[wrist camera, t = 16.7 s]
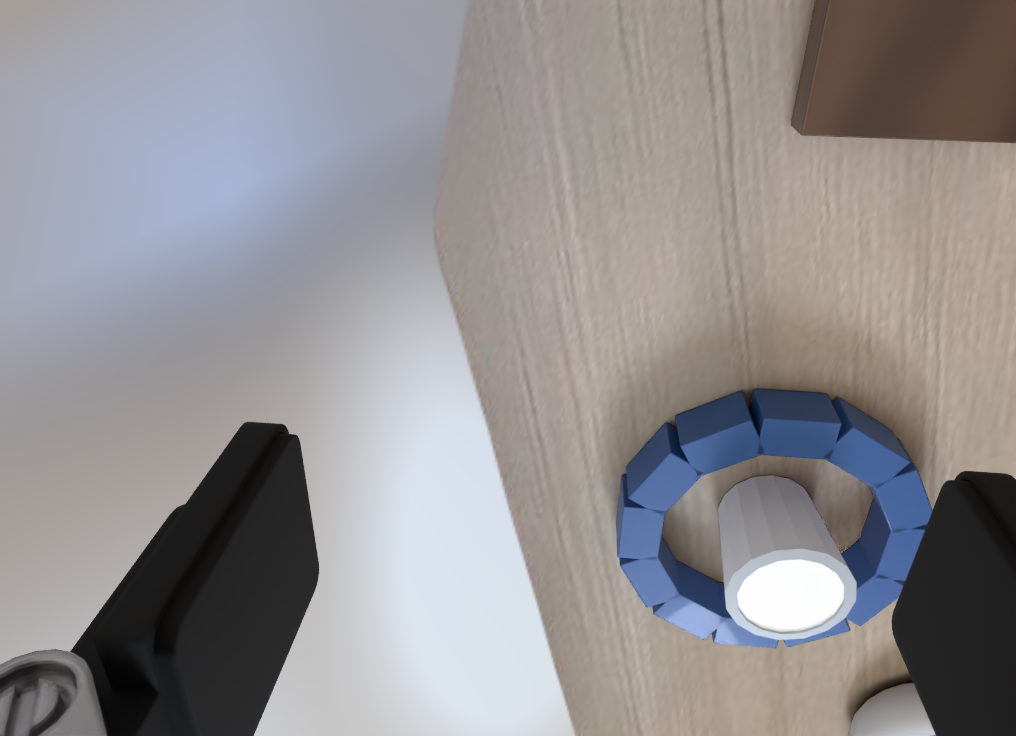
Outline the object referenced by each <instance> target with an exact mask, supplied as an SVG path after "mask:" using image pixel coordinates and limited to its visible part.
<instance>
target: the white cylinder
mask: <svg viewBox="0 0 1016 736" xmlns="http://www.w3.org/2000/svg"><path fill="white" fill-rule="evenodd" d="M718 515H719V527H720V539H721V552H722V564H723V576H724V589H725V601H726V610H727V611H728V612H729V614H730V615H731V617H732V618H733V619H734V621H735V622H736V624H737V625H739V626H741V627H743V628H744V629H746V630H748V631H749V632H751V633H753V634H755V635H758V636H762V637H767V638H772V639H776V640H787V639H804V638H807V637H810V636H813V635H816V634H819V633H822V632H825V631H828V630H829V629H830V628H832V627H833V626H835V625H836V624H837V623H839V622H840V621H842V620H843V619H844V618H846V616H847V615H848V613H849V611H850V610H851V608H852V607H853V605H854V603H855V602H856V588H857V582H856V581H855V579H854V577H853V575H852V573H851V571H850V570H849V568H848V566H847V564H846V562H845V561H844V559H843V557H842V555H841V553H840V551H839V550H838V548H837V546H836V544H835V542H834V540H833V539H832V537H831V535H830V533H829V531H828V530H827V528H826V526H825V524H824V522H823V520H822V519H821V517H820V515H819V513H818V511H817V509H816V508H815V506H814V504H813V502H812V500H811V499H810V497H809V495H808V494H807V492H806V490H805V489H804V488H803V487H802V486H800V485H799V484H797V483H796V482H794V481H793V480H791V479H788V478H783V477H779V476H774V475H769V476H758V477H752V478H750V479H747V480H745V481H743V482H740V483H738V484H736V485H735V486H734V487H733V488H731V489H730V490H729V491H728V492H727V493H726V494H725V495H724V496H723V499H722V501H721V503H720V505H719V507H718Z"/></svg>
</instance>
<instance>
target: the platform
mask: <svg viewBox="0 0 1016 736" xmlns="http://www.w3.org/2000/svg"><path fill="white" fill-rule="evenodd" d="M791 126H792V127H793V128H794V129H795V130H796V131H797V132H798V133H799V134H801V135H805V136H833V137H861V138H888V139H916V140H944V141H971V142H999V143H1016V0H816V1H815V6H814V11H813V16H812V21H811V26H810V31H809V37H808V42H807V47H806V52H805V57H804V62H803V67H802V72H801V77H800V82H799V87H798V92H797V97H796V102H795V107H794V112H793V117H792V122H791Z"/></svg>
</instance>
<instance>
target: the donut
mask: <svg viewBox="0 0 1016 736" xmlns="http://www.w3.org/2000/svg"><path fill="white" fill-rule="evenodd" d="M932 735H936V734H935V732H934V730H933V727H932V725H931V723H930V720H929V718H928V716H927V713H926V711H925V709H924V706H923V704H922V702H921V699H920V697H919V695H918V692H917V690H916V688H915V685H914V683H907V684H901V685H898V686H895V687H892V688H889V689H886V690H883V691H881V692H880V693H878V694H876V695H875V696H873V697H871V698H870V699H868V700H867V701H866V702H865V703H864V704H863V706H862V707H861V708H860V709H859V710H858V711H857V712H856V713H855V715H854V718H853V720H852V723H851V726H850V730H849V736H932Z"/></svg>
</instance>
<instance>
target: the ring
mask: <svg viewBox="0 0 1016 736" xmlns="http://www.w3.org/2000/svg"><path fill="white" fill-rule="evenodd" d="M675 418H676V424H677V429H676V428H675V427H673V426H671V425H670V424H668V423H665V424H664V425H663V426H662V427H661V429H660V430H659V431H658V432H657V433H656V434H655V435H654V436H653V437H652V439H651V440H650V441H649V442H648V443H647V444H646V445H645V446H644V448H643V449H642V450H641V451H640V452H639V453H638V454H637V455H636V456H635V458H634V459H633V460H632V461H631V462H630V463H629V464H628V465H627V467H626V471H627V475H622V479H621V487H620V496H619V505H618V513H617V522H616V530H617V555H618V557H619V558H620V566H621V568H622V570H623V571H624V573H625V574H626V576H627V578H628V579H629V581H630V582H631V584H632V586H633V587H634V589H635V590H636V592H637V593H638V595H639V597H640V598H641V600H642V601H643V603H644V605H645V606H646V607H651V606H653V614H654V615H656V616H658V617H660V618H662V619H664V620H666V621H668V622H670V623H672V624H674V625H676V626H678V627H679V628H681V629H683V630H685V631H687V632H689V633H691V634H693V635H695V636H697V637H699V638H701V639H703V640H704V639H706V638H707V637H708V636H709V635H710V634H711V633H712V637H713V642H714V643H722V644H734V645H745V646H756V647H767V648H777V645H778V641H779V640H776V639H772V638H767V637H762V636H758V635H755V634H753V633H751V632H749V631H748V630H746V629H744V628H743V627H741V626H739V625H737V624H736V622H735V621H734V619H733V618H732V617H731V615H730V614H729V612H728V611H727V610H726V601H725V589H724V583H718V582H716V581H714V580H712V579H710V578H708V577H706V576H704V575H703V574H701V573H699V572H697V571H695V570H693V569H692V568H690V567H688V566H686V565H684V564H682V563H680V562H679V561H677V560H675V558H674V556H673V555H672V553H671V551H670V550H669V548H668V546H667V544H666V543H665V541H664V539H663V538H662V536H661V535H662V529H663V523H664V516H665V513H666V512H667V511H668V510H669V509H670V508H671V507H672V506H673V505H674V503H675V502H676V501H677V500H678V499H679V498H680V497H681V496H682V495H683V494H684V493H685V492H686V491H687V490H688V489H689V488H690V487H691V486H692V485H693V484H694V483H695V482H696V481H697V480H698V479H699V478H700V477H701V476H702V475H705V474H708V473H711V472H714V471H717V470H719V469H722V468H725V467H728V466H731V465H734V464H737V463H739V462H742V461H745V460H748V459H751V458H754V457H757V456H760V455H771V456H785V457H800V458H814V459H826V460H828V461H829V462H831V463H833V464H834V465H836V466H838V467H840V468H841V469H843V470H845V471H846V472H848V473H850V474H851V475H853V476H855V477H856V478H858V479H860V480H861V481H863V482H865V483H866V484H868V485H869V486H870V489H871V491H872V494H873V496H874V499H873V502H872V505H871V508H870V511H869V514H868V517H867V520H866V523H865V526H864V529H863V532H862V535H861V538H860V540H859V541H858V542H856V543H855V544H854V545H853V546H852V547H850V548H849V549H848V550H847V551H845V552H844V553H843V554H842V557H843V559H844V561H845V562H846V564H847V566H848V568H849V570H850V571H851V573H852V575H853V577H854V579H855V581H856V582H857V588H856V602H855V603H854V605H853V607H852V608H851V610H850V611H849V613H848V615H847V616H846V618H844V619H843V620H842V621H840V622H839V623H837V624H836V625H835V626H833V627H832V628H830V629H829V630H828V631H825V632H822V633H819V634H816V635H813V636H810V637H807V638H804V639H787V640H784V642H785V644H786V646H787V647H791V646H795V645H798V644H802V643H806V642H810V641H814V640H817V639H821V638H825V637H829V636H833V635H836V634H840V633H844V632H848V631H850V627H849V624H848V622H847V619H848V620H850V621H852V622H853V623H855V624H857V625H859V626H861V625H863V624H864V623H865V622H867V621H868V620H869V619H871V618H872V617H873V616H875V615H876V614H877V613H879V612H880V611H881V610H883V609H884V608H885V607H887V606H888V605H889V604H891V603H892V602H893V601H894V600H896V599H897V598H898V597H899V596H900V593H901V591H902V588H903V586H904V583H905V580H906V578H907V575H908V573H909V570H910V568H911V565H912V562H913V560H914V557H915V555H916V552H917V550H918V547H919V544H920V542H921V539H922V537H923V534H924V532H925V529H926V526H927V524H928V521H929V519H930V516H931V514H932V511H933V510H932V507H931V505H930V502H929V499H928V497H927V494H926V491H925V488H924V486H923V483H922V480H921V478H920V475H919V472H918V470H917V468H916V466H915V465H914V463H913V461H912V460H911V458H910V456H909V455H908V453H907V451H906V450H905V448H904V446H903V445H902V443H901V442H900V440H899V439H898V438H896V437H895V435H894V434H893V432H892V430H890V429H889V428H887V427H885V426H884V425H882V424H881V423H879V422H877V421H876V420H874V419H873V418H871V417H869V416H868V415H866V414H864V413H863V412H861V411H860V410H858V409H856V408H855V407H853V406H852V405H850V404H848V403H847V402H845V401H844V400H842V399H840V398H838V397H837V398H836V399H835V400H834V401H833V402H832V403H831V402H830V400H829V398H828V396H827V394H826V393H810V392H794V391H779V390H763V389H754V390H753V394H752V399H751V404H750V407H749V405H748V403H747V401H746V399H745V397H744V394H743V392H742V391H740V392H737V393H734V394H732V395H729V396H727V397H724V398H721V399H719V400H716V401H713V402H711V403H708V404H706V405H703V406H700V407H698V408H695V409H692V410H690V411H687V412H685V413H682V414H679V415H677V416H675Z"/></svg>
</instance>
